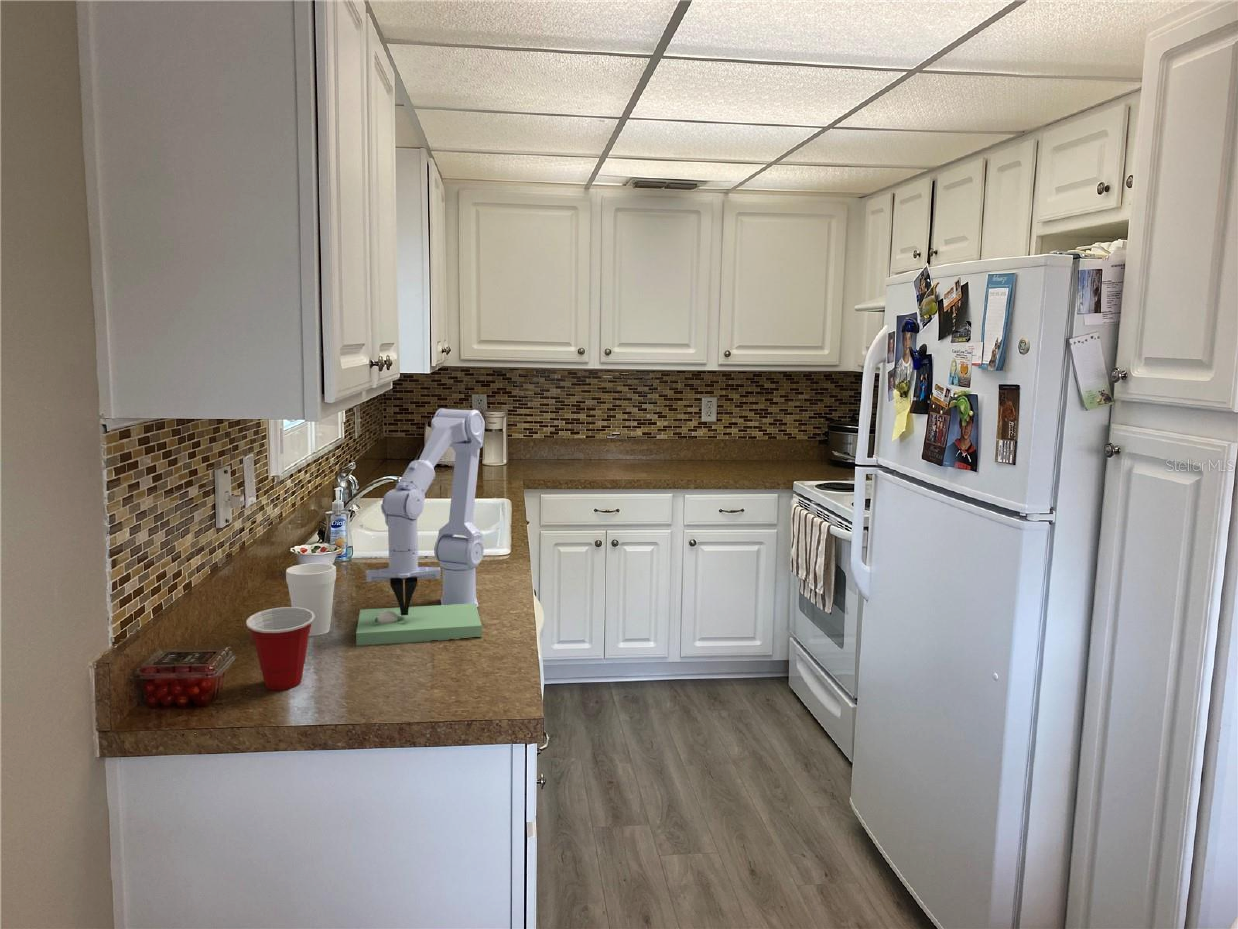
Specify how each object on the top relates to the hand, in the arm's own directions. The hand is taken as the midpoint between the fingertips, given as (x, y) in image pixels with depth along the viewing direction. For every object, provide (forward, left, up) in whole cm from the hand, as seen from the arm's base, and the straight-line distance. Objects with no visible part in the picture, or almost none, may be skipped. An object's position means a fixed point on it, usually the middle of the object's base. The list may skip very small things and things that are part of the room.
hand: (404, 614), depth 177 cm
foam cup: (-3, -18, -4) cm, 19 cm away
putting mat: (0, +3, -3) cm, 4 cm away
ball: (-1, -3, -1) cm, 4 cm away
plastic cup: (+26, -20, -4) cm, 33 cm away
